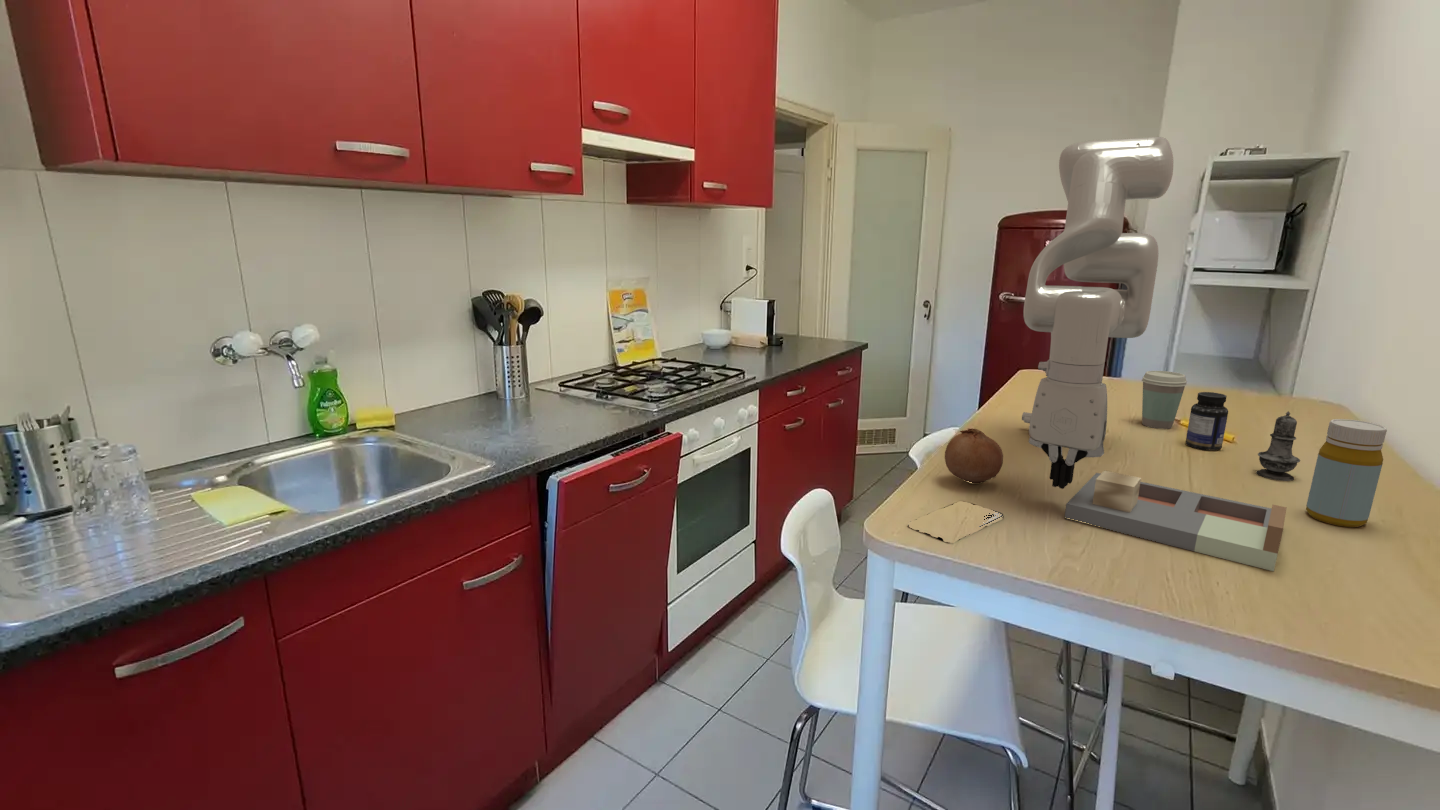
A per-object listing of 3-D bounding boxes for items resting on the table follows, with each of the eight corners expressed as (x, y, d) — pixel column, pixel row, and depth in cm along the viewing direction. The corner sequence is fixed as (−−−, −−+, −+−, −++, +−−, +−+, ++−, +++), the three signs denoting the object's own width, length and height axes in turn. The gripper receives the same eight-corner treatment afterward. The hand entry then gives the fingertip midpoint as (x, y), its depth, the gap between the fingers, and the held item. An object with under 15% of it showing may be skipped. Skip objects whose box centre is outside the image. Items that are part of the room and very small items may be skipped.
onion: (933, 484, 116) (937, 429, 114) (956, 470, 123) (960, 418, 120) (987, 498, 110) (993, 440, 107) (1008, 482, 117) (1014, 428, 114)
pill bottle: (1208, 442, 139) (1217, 390, 136) (1228, 451, 133) (1239, 398, 130) (1178, 442, 139) (1187, 390, 136) (1197, 451, 133) (1207, 397, 130)
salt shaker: (1303, 482, 116) (1318, 416, 113) (1265, 480, 117) (1279, 414, 114) (1283, 471, 122) (1297, 408, 119) (1247, 469, 123) (1259, 406, 120)
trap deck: (1064, 518, 102) (1069, 482, 100) (1094, 486, 115) (1099, 453, 113) (1273, 571, 86) (1283, 528, 84) (1281, 526, 99) (1289, 488, 97)
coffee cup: (1188, 430, 147) (1197, 377, 144) (1149, 430, 147) (1158, 377, 144) (1163, 420, 155) (1172, 370, 152) (1127, 420, 155) (1134, 370, 152)
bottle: (1372, 532, 96) (1398, 434, 93) (1309, 522, 100) (1331, 426, 96) (1359, 515, 102) (1383, 422, 98) (1301, 506, 106) (1321, 416, 102)
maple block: (1092, 503, 101) (1096, 479, 100) (1100, 494, 105) (1104, 470, 104) (1130, 512, 98) (1134, 487, 97) (1137, 502, 101) (1141, 477, 100)
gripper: (1015, 370, 104) (1004, 480, 108) (1124, 384, 94) (1106, 504, 98) (1031, 363, 109) (1019, 469, 114) (1136, 375, 99) (1118, 490, 104)
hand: (1060, 485), depth 106 cm, fingers closed
